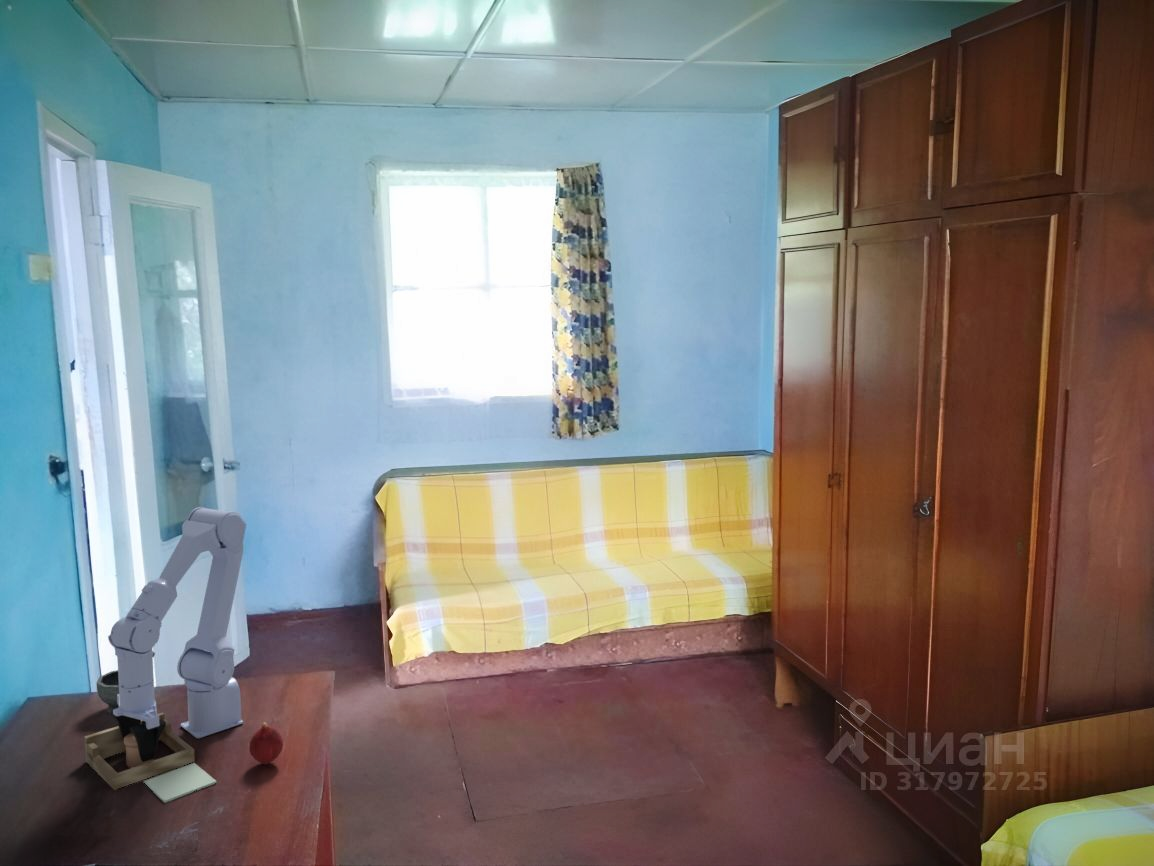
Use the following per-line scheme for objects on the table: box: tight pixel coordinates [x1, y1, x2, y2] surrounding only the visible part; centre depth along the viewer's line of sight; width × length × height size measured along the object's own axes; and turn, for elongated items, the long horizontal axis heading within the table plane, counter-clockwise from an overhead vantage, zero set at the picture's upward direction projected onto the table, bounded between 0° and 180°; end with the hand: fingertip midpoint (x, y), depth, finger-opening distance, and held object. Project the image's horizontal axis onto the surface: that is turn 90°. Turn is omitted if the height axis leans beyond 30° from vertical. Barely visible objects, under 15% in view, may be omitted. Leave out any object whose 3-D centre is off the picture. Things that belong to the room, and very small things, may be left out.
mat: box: [143, 762, 217, 804], centre depth 155 cm, size 9×9×1 cm
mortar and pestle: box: [95, 650, 156, 714], centre depth 184 cm, size 11×9×12 cm
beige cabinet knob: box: [124, 733, 155, 768], centre depth 162 cm, size 5×5×5 cm
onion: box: [249, 721, 284, 765], centre depth 162 cm, size 6×6×8 cm
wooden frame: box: [84, 712, 196, 791], centre depth 162 cm, size 14×14×5 cm
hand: (139, 752), depth 162 cm, fingers open, 7 cm apart
